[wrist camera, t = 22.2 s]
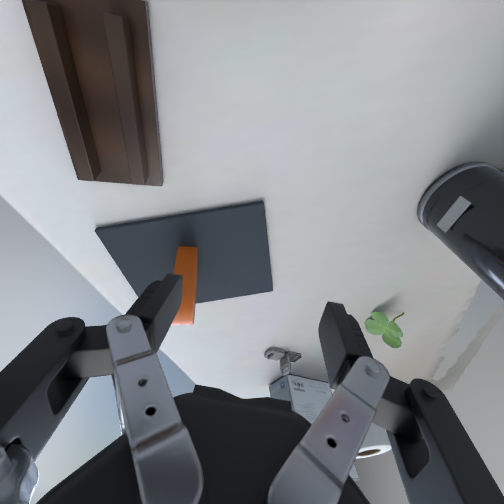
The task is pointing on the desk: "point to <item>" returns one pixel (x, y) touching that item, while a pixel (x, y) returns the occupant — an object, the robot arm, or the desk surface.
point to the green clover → (385, 329)
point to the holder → (101, 85)
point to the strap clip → (282, 358)
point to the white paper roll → (374, 442)
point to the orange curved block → (186, 284)
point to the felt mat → (208, 250)
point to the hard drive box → (305, 399)
